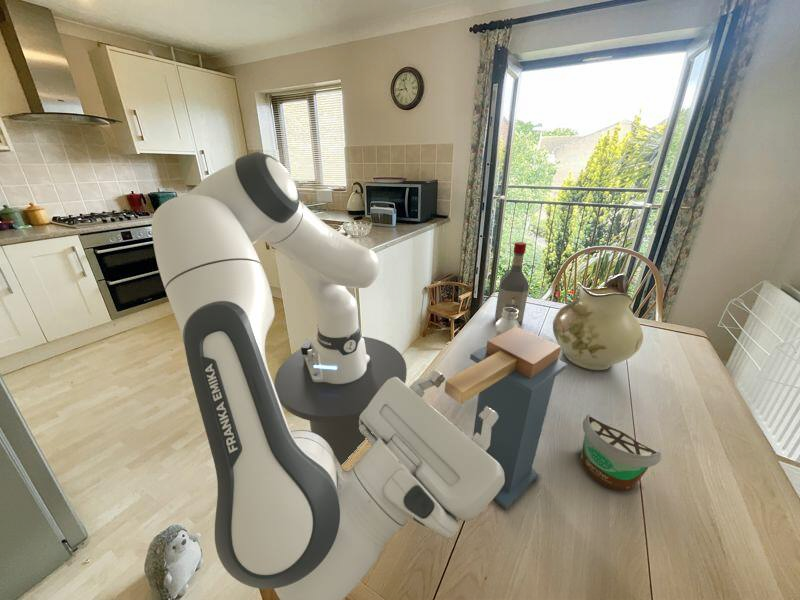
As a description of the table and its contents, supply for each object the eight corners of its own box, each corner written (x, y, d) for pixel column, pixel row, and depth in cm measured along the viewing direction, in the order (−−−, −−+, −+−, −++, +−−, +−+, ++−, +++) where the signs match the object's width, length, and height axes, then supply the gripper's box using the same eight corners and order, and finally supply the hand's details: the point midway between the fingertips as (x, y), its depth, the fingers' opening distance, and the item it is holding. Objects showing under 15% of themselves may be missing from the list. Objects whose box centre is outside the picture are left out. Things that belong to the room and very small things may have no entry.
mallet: (431, 382, 44) (432, 368, 43) (514, 338, 55) (516, 326, 54) (476, 416, 38) (478, 400, 37) (558, 359, 49) (561, 345, 48)
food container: (562, 463, 61) (573, 425, 57) (575, 446, 65) (587, 410, 61) (634, 512, 53) (654, 472, 49) (645, 490, 56) (665, 451, 52)
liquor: (522, 330, 110) (537, 247, 98) (495, 327, 112) (507, 245, 100) (519, 318, 118) (533, 241, 106) (494, 315, 120) (505, 239, 108)
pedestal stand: (457, 464, 61) (470, 353, 51) (489, 439, 67) (507, 335, 56) (505, 509, 53) (532, 389, 43) (537, 477, 59) (567, 363, 48)
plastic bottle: (509, 384, 83) (521, 318, 75) (484, 375, 87) (493, 311, 78) (515, 371, 88) (527, 308, 80) (491, 364, 92) (500, 302, 83)
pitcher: (558, 376, 86) (579, 294, 76) (538, 334, 108) (553, 265, 97) (647, 386, 83) (682, 301, 73) (609, 340, 104) (632, 269, 94)
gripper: (363, 431, 48) (422, 366, 52) (462, 551, 33) (535, 448, 37) (342, 414, 44) (408, 345, 48) (445, 541, 29) (528, 427, 33)
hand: (464, 390), depth 42 cm, fingers open, 8 cm apart
